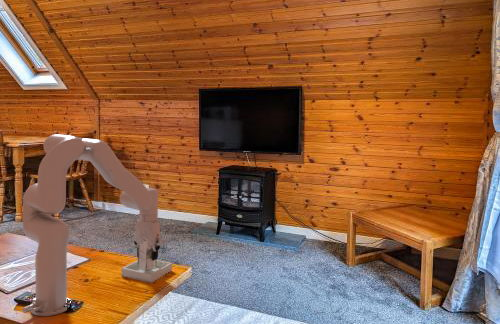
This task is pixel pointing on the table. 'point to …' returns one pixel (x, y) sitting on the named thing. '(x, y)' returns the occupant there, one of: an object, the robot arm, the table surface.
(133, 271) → the tray
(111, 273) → the table surface
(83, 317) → the table surface
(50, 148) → the robot arm
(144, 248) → the syrup box
